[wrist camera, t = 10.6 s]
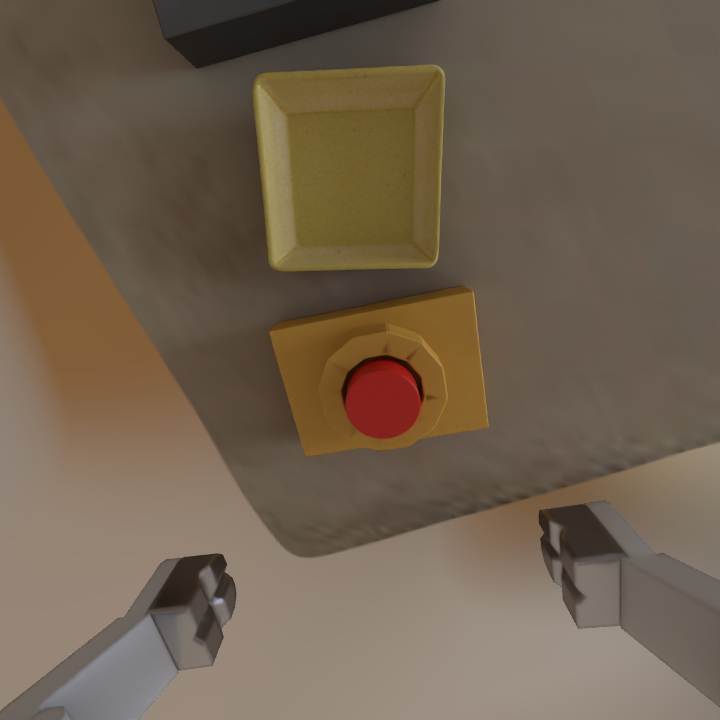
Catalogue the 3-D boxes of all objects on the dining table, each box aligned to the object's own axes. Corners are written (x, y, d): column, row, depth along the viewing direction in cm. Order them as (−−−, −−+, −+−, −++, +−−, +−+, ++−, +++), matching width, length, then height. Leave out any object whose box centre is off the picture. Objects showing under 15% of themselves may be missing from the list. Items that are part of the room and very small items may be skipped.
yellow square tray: (262, 88, 18) (248, 71, 16) (439, 80, 18) (447, 61, 16) (279, 268, 21) (268, 271, 19) (432, 265, 21) (438, 268, 19)
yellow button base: (464, 285, 21) (483, 296, 17) (479, 411, 23) (499, 445, 20) (278, 322, 22) (257, 340, 18) (311, 438, 25) (298, 475, 21)
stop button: (410, 353, 19) (414, 364, 17) (421, 416, 20) (425, 433, 18) (341, 365, 19) (337, 378, 17) (355, 427, 20) (353, 444, 18)
